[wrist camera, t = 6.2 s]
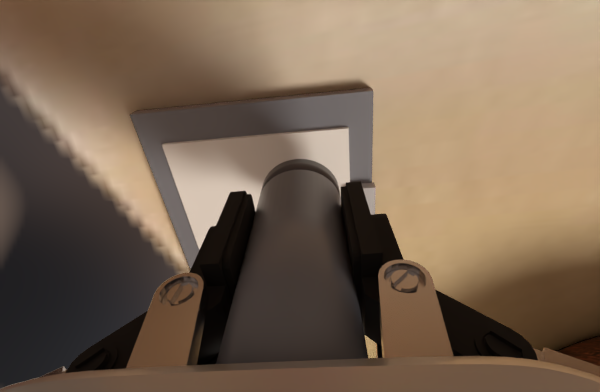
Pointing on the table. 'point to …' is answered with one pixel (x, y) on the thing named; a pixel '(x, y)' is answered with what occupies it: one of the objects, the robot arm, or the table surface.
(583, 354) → the wooden bowl
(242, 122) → the clipboard
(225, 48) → the table surface
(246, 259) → the orange topped gray cylinder
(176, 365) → the robot arm
